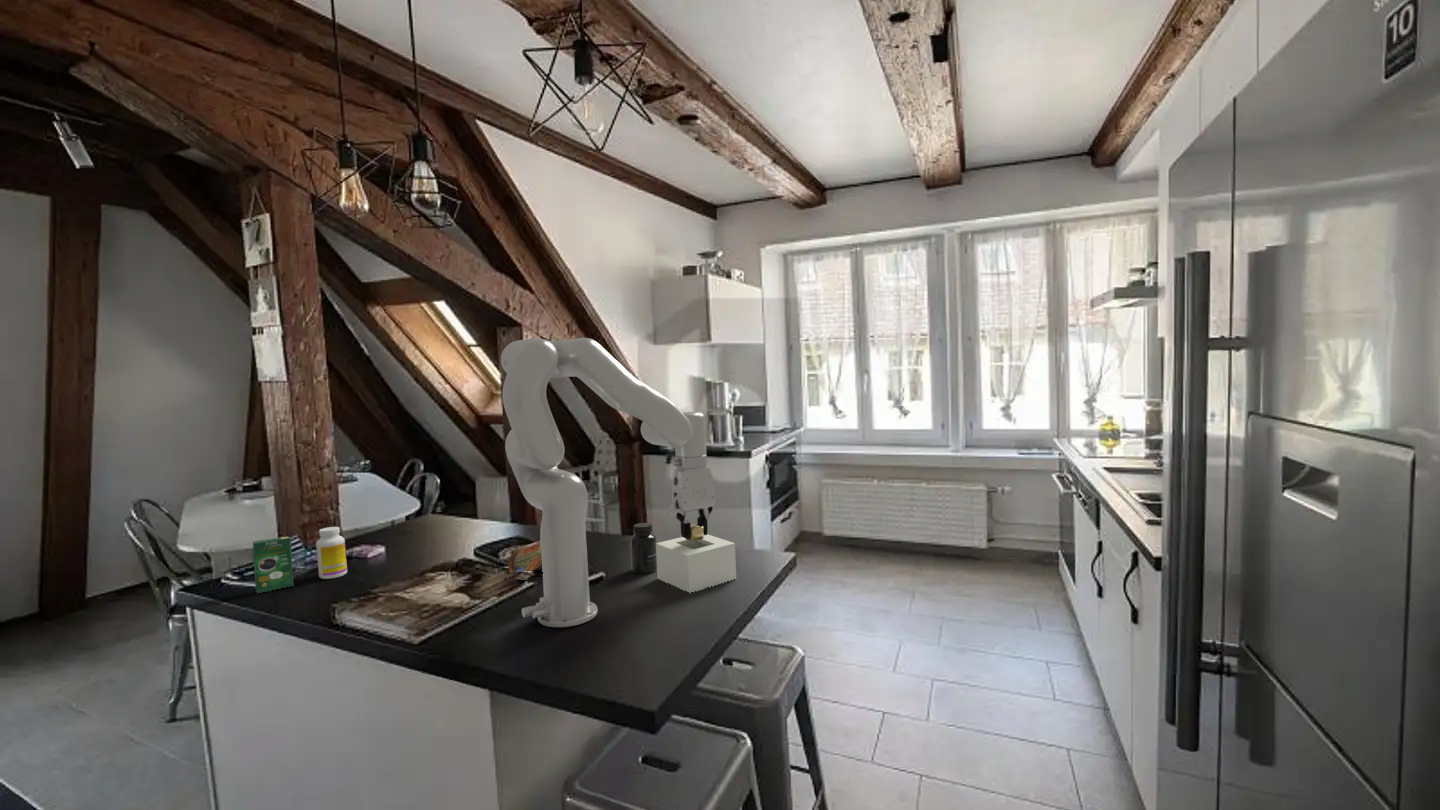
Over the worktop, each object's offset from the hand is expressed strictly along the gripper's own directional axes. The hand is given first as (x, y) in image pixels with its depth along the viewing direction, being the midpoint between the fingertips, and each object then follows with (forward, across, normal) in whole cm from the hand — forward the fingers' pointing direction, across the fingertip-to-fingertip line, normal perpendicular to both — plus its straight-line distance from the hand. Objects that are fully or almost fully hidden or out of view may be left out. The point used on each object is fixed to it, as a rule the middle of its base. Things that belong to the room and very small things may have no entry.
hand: (694, 535), depth 159 cm
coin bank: (+11, 0, 0) cm, 11 cm away
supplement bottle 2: (+11, -6, +15) cm, 20 cm away
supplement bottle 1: (+11, -70, +71) cm, 100 cm away
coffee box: (+11, -83, +69) cm, 109 cm away
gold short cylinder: (+1, 0, 0) cm, 1 cm away
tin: (+11, -29, +32) cm, 45 cm away
